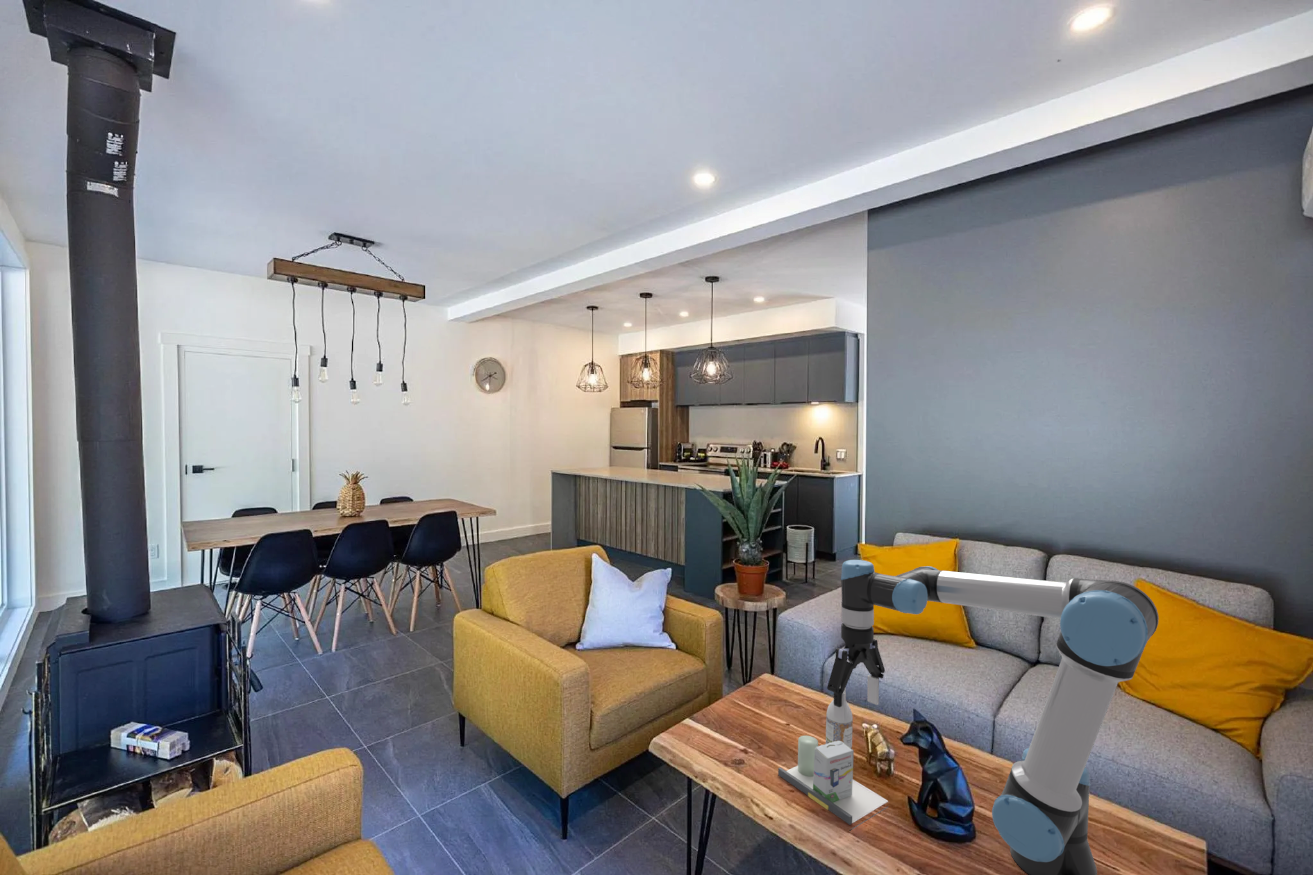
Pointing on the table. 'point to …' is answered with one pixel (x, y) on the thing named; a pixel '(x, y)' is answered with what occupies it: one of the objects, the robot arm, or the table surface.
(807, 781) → the shelf board
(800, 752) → the sage canister
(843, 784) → the ink box
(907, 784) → the table surface
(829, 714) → the bath foam
